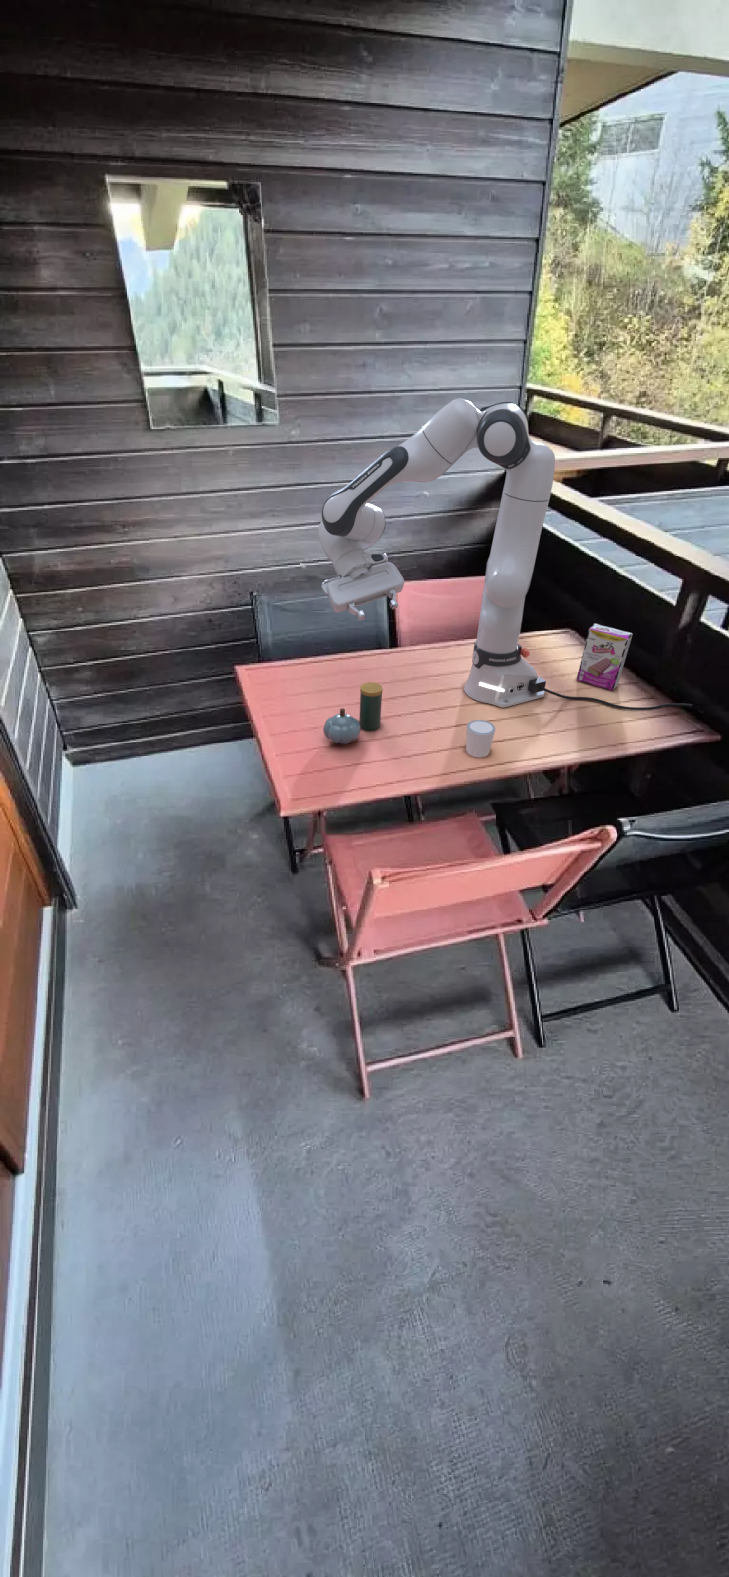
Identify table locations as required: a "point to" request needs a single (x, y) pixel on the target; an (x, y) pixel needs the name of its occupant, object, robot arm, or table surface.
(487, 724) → the white cup
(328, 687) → the table surface
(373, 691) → the tea tin
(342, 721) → the pumpkin
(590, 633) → the candy bar box
